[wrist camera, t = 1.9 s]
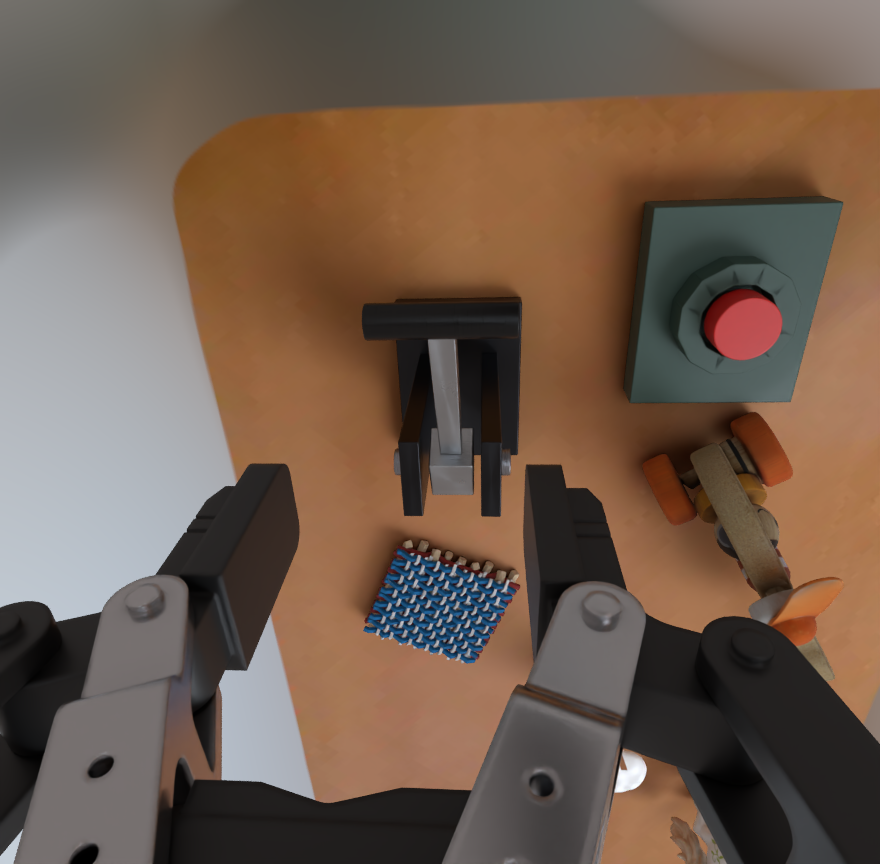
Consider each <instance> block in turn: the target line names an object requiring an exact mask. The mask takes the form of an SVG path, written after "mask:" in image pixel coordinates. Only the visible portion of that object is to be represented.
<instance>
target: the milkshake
mask: <svg viewBox="0 0 880 864" xmlns="http://www.w3.org/2000/svg"><path fill="white" fill-rule="evenodd" d="M646 770H647V768H646V764H645V762H644V759H643V756H642V754H639V753H636V752H633V751H630V750H627V749H625V748H624V749H623V754H622V759H621V763H620V768H619V773H618V778H617V783H616V788H615V792H625V791H627V790H632V789H635V788H637V787H638V786H639V785H640V784H641V783H642V781H643V780H644V778H645V775H646Z"/></svg>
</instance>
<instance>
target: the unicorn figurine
mask: <svg viewBox="0 0 880 864" xmlns="http://www.w3.org/2000/svg"><path fill="white" fill-rule="evenodd" d="M694 804H695V802H694ZM695 806H696V804H695ZM696 808H697V806H696ZM697 811H698V812H697V816H696V819H695V822H694V826H693V830H694V831H695V833H696V834H698V835H699V836H700V837H701V838H702V840H703V841H704V842H705V843H706V845H707V846H708V851H707V856H706V854H705V853H704V852H703V850H702V849H701V847H700V844H699V840H698V837H697V835H696V834H695V833H694V832H693V831H692V830H691V829H690V827H689V825H688V824H687V823H686V822H684V821H682V820H681V819H679V818H677V817H672V818H671V820H672V821H673V824H672V825H671V827H670V830H671V833H672V835H673V836H671V837H670V838H671V839H672V840H673V841H674V842H675V843H676V844H677V845H678V846H679V848H680V849H681V850H682V853H679V854H677V856H678V857H679V858H681V859H682V860H684V861H686V862H685V864H727V863H726V861H725V859H724V857H723V856H722V854H721V852H720V850H719V848H718V846H717V844H716V842H715V840H714V838H713V836H712V835H711V833H710V831H709V829H708V827H707V825H706V823H705V821H704V819H703V817H702V815H701V813H700V812H699V810H698V808H697Z"/></svg>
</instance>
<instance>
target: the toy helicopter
mask: <svg viewBox="0 0 880 864" xmlns="http://www.w3.org/2000/svg"><path fill="white" fill-rule="evenodd" d="M730 427H731V430H732V433H733V435H734V437H733V438H731V439H727V440H726V441H724V442H722V443H720V444H719V445H718V444H717V443H712V444H710V445H707V446H705V447H703V448H701V449H699V450H697V451H695V452H693V453H692V454H691V456H690V459H691V462H692V464H693V466H694V469H692V470H690V471H687V472H686V473H683V474H681V475H678V474H677V472H676V470H675V468H674V466H673V465H672V463H671V461H670V459H669V457H668V456H667V455H665V454H661V455H658V456H656V457H654V458H652V459H650V460H648V461H646V462H644V464H643V471H644V473H645V476H646V478H647V480H648V482H649V485H650V487H651V489H652V491H653V493H654V495H655V497H656V499H657V501H658V503H659V505H660V507H661V509H662V511H663V512H664V514H665V516H666V518H667V519H668V521H669V522H670V523H671V524H672V525H680V524H683V523H685V522H688V521H690V520H693V519H694V518H695V517H696V516H697V512H698V514H699V516H700V518H701V519H702V520H703V521H704V522H707V523H715V524H714V534H715V538H716V541H717V543H718V545H719V546H720V548H721V549H722V550H723V551H724V552H725V553H726V554H728V555H730V556H731V557H733V558H735V559H736V560H737V563H738V565H739V567H740V569H741V571H742V573H743V575H744V577H745V579H746V581H747V583H748V584H749V585H750V587H751V588H753V589H754V590H755V591H757V592H758V594H759V596H760V597H761V598H762V599H760V600H758V601H756V602H755V603H753V604H752V605H751V606H750V607H749V612H750V615H751V617H752V619H754V620H757V621H760V622H763V623H765V624H767V625H769V626H771V627H773V628H775V629H776V630H778V631H780V632H781V633H782V634H784V635H785V636H786V637H787V638H788V639H789V640H790V641H791V642H792V643H793V644H794V645H795V646H796V647H797V648H798V649H799V651H800V652H801V653H802V654H803V655H804V656H805V658H806V659H807V660H808V661H809V662H810V663H811V665H812V666H813V667H814V668H815V669H816V670H817V672H818V673H819V674H820V675H821V676H822V677H823V679H824V680H825V681H830V680H833V679H835V675H834V673H833V670H832V668H831V666H830V664H829V662H828V660H827V658H826V656H825V654H824V652H823V650H822V648H821V646H820V644H819V642H818V640H817V638H816V636H815V634H816V630H817V626H816V621H815V618H816V617H817V616H818V615H819V614H820V613H822V612H823V611H824V610H825V609H826V608H827V607H828V606H829V605H830V604H831V603H832V601H833V600H834V599H835V598H836V597H837V595H838V594H839V593H840V591H841V590H842V589H843V586H844V583H843V581H842V580H841V579H839V578H836V577H827V578H821V579H816V580H813V581H810V582H807V583H805V584H803V585H801V586H799V587H797V588H796V589H793V586H792V584H791V582H790V571H789V569H788V567H787V565H786V563H785V561H784V559H783V558H782V556H781V554H780V552H779V550H778V548H777V544H778V540H779V527H778V524H777V521H776V520H775V518H774V517H773V515H772V514H771V513H770V512H769V511H768V510H766V509H765V508H764V507H762V506H760V505H762V504H763V503H764V501H765V499H766V497H767V494H766V491H765V489H764V488H763V486H762V484H765V485H766V486H767V487H772V486H774V485H776V484H778V483H781V482H784V481H786V480H788V479H790V478H791V477H792V475H793V470H792V467H791V464H790V462H789V460H788V458H787V456H786V454H785V452H784V450H783V449H782V447H781V445H780V443H779V442H778V440H777V438H776V437H775V435H774V433H773V432H772V430H771V429H770V427H769V426H768V424H767V423H766V422H765V420H764V419H763V418H762V417H761V416H760V415H759V414H758V413H756V412H751V413H748V414H746V415H744V416H742V417H740V418H738V419H735V420H734V421H732V422H731V425H730ZM700 482H701V484H702V486H703V488H702V489H701V490H700V491H699V493H698V494H697V495H696V496H695V498H694V504H693V502H692V501H691V499H690V497H689V495H688V493H687V491H686V489H685V487H684V485H683V484H685V485H686V486H687V487H688V488H690V489H694V488H696V487H697V486H699V485H700Z"/></svg>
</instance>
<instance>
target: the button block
mask: <svg viewBox="0 0 880 864" xmlns="http://www.w3.org/2000/svg"><path fill="white" fill-rule="evenodd" d="M842 206H843V202H841V201H838V200H835V199H831V198H828V197H824V196H815V197H782V198H748V199H715V200H682V201H648V202H645V208H644V216H643V225H642V233H641V242H640V250H639V259H638V267H637V276H636V284H635V293H634V301H633V310H632V318H631V327H630V335H629V344H628V353H627V361H626V370H625V378H624V387H623V389H624V391H625V394H626V396H627V398H628V400H629V402H630V403H720V402H791V398H792V395H793V391H794V387H795V383H796V380H797V376H798V372H799V368H800V364H801V361H802V357H803V353H804V349H805V346H806V342H807V338H808V334H809V331H810V327H811V323H812V319H813V315H814V312H815V308H816V304H817V300H818V297H819V293H820V289H821V285H822V282H823V278H824V274H825V270H826V266H827V263H828V259H829V255H830V251H831V248H832V244H833V240H834V236H835V233H836V229H837V225H838V221H839V218H840V214H841V210H842ZM738 289H750V290H754V291H756V292H758V293H760V294H761V295H763V296H764V297H766V298H767V299H768V300H770V301H771V302H773V303H774V304H775V305H776V306H777V307H778V309H779V310H780V312H781V315H782V330H781V333H780V335H779V337H778V339H777V341H776V342H775V343H774V345H773V346H772V347H771V348H770V349H769V350H767V351H766V352H765V353H763V354H761V355H760V356H757V357H755V358H752V359H748V360H734V359H730V358H727V357H725V356H724V355H722V354H721V353H720V352H719V351H718V350H717V349H716V348H715V347H714V346H713V345H712V343H711V342H710V341H709V340H708V339H707V337H706V334H705V331H704V320H705V316H706V314H707V311H708V310H709V308H710V307H711V305H712V304H713V303H714V302H715V301H716V300H717V299H718V298H719V297H721V296H722V295H724V294H726V293H728V292H730V291H733V290H738Z"/></svg>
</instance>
